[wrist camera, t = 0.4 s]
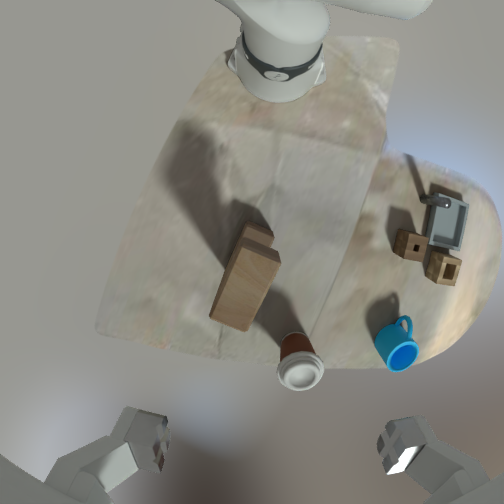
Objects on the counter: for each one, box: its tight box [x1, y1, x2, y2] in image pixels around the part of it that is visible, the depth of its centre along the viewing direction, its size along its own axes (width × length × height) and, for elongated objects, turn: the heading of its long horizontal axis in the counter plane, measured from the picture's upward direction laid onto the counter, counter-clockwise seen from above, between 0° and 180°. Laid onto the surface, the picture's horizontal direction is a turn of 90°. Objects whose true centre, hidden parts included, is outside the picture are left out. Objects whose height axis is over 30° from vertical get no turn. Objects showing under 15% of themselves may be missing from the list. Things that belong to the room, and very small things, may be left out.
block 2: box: [425, 251, 462, 286], centre depth 51 cm, size 6×6×5 cm
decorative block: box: [209, 221, 281, 332], centre depth 44 cm, size 11×6×20 cm, turn 155°
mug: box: [374, 315, 419, 372], centre depth 54 cm, size 12×8×8 cm
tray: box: [425, 193, 469, 251], centre depth 50 cm, size 11×10×2 cm
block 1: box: [393, 229, 429, 262], centre depth 50 cm, size 5×5×5 cm
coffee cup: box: [277, 331, 324, 391], centre depth 53 cm, size 9×9×12 cm
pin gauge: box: [420, 194, 451, 209], centre depth 46 cm, size 2×2×9 cm
